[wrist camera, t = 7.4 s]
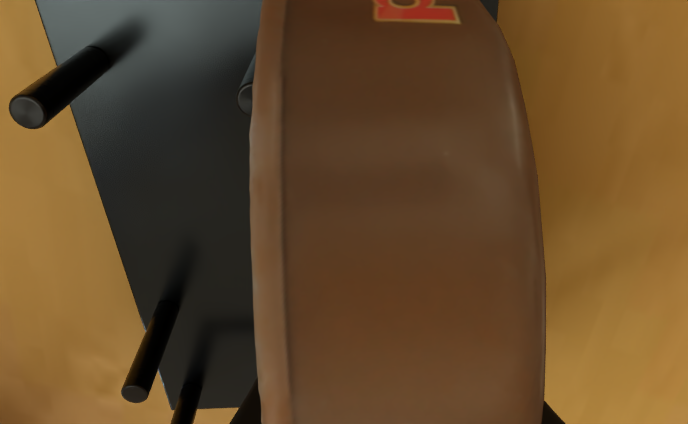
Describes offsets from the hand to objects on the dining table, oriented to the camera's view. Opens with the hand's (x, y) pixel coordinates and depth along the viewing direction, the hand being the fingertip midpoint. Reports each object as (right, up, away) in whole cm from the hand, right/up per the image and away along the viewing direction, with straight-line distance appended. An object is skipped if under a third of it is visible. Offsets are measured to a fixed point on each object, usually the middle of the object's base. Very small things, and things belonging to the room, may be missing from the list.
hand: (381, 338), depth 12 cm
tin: (0, +2, +2) cm, 3 cm away
